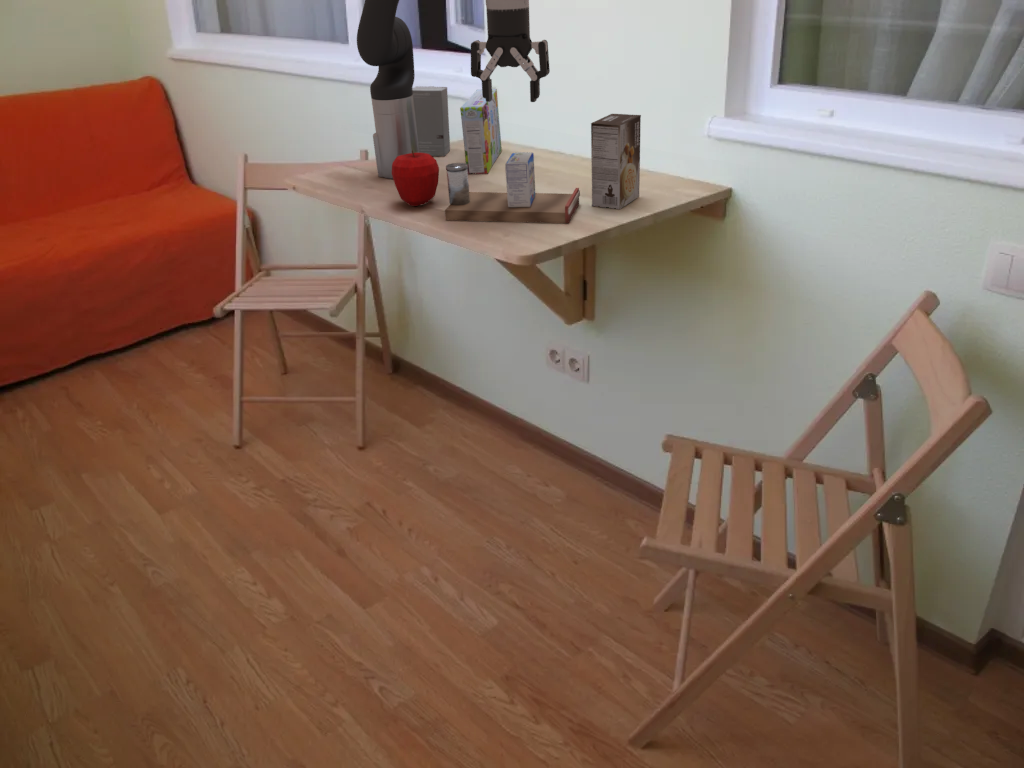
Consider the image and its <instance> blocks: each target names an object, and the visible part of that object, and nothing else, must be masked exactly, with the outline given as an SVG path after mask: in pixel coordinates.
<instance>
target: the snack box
mask: <svg viewBox="0 0 1024 768" xmlns="http://www.w3.org/2000/svg"><path fill="white" fill-rule="evenodd" d="M459 111H460V118H461V119H460V120H461V128H462V137H463V147H464V156H465V163H466V164H467V165H468V169H467V171H468V175H472V174H471V173H474V174H473V175H477V174H478V175H479V174H480V175H481V174H482V175H483V174H485V175H486V174H487V175H488V174H489V172H490V171H491V169H492V167H493V165H494V163H495V162H496V161H497V159H498V158H499V156H500V154H501V152H502V151H503V148H502V139H501V137H502V136H501V125H500V114H499V112H500V111H499V103H498V90H497V88H492V101H490V102H486V98H483V96H482V88H480V89H476V91H474V93H473V94H471V95H470V97H468V99H467V100H466V101H465V102H464V103H463V104H462V105H461V106H460V107H459ZM475 173H476V174H475Z"/></svg>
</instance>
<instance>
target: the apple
mask: <svg viewBox="0 0 1024 768" xmlns="http://www.w3.org/2000/svg"><path fill="white" fill-rule="evenodd" d="M439 175H440V167H439V164H438V162H437V159H436V158H435V157H434V156H431V155H430V154H427V153H413V150H412V153H409V154H405V155H400V156H397V157H396V159H395V160H394V161H393V163H392V176H393V183H394V186H395V188H396V191H397V192H398V195H399V198H400V199H401V201H403V202H405V203H407V205H408V206H410V207H417V206H423V205H425V204H428V203H429V202H430V201H431V200H432V199H434V198H435V196H436V193H437V188H438V185H439V179H440V178H439Z"/></svg>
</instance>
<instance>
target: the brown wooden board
mask: <svg viewBox="0 0 1024 768" xmlns="http://www.w3.org/2000/svg"><path fill="white" fill-rule="evenodd" d="M469 196H470V203H468V204H465V205H451V204H450V203H449V205H448V206H447V207H446V208H445V209H444V215H445V221H461V220H468V221H467V222H469V221H470V222H502V223H503V222H504V223H505V222H507V223H539V224H540V223H541V224H542V223H544V224H546V223H547V224H569V223H570V221H571V219H572V218H573V215H575V212H576V210H577V209H578V207H579V205H580V196H581V190H580V187H575V189H574V190H573V192H572V193H557V192H556V193H555V192H553V193H551V192H550V193H548V192H545V193H543V192H542V193H541V192H535V197H534V199H533V202H532V204H531V206H530V208H529V207H522V208H512V207H508V199H507V192H497V191H496V192H495V191H494V192H492V191H491V192H490V191H489V192H487V191H486V192H484V191H469ZM472 220H473V221H472Z"/></svg>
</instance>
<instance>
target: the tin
mask: <svg viewBox="0 0 1024 768" xmlns="http://www.w3.org/2000/svg"><path fill="white" fill-rule="evenodd" d="M467 169H468V165H467V164H466V162H452V163H448V164H447V165H445V171H446V179H447V188H448V201H449V205H450V204H451V205H465V204H468V203H470V196H469V192H470V185H469V174H468V171H467Z"/></svg>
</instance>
